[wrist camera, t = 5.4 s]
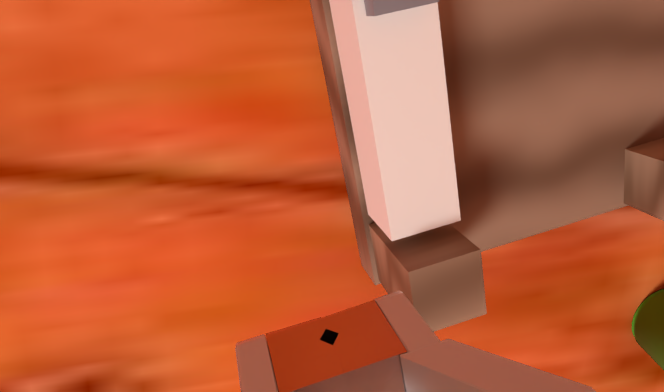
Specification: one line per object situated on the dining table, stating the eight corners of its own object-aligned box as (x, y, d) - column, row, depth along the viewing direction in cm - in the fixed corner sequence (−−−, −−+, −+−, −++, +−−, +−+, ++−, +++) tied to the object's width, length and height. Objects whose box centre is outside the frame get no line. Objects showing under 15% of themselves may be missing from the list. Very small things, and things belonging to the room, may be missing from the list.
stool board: (642, 178, 34) (764, 223, 27) (361, 265, 31) (414, 342, 24) (658, -193, 26) (836, -271, 19) (284, -130, 23) (326, -196, 16)
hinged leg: (310, -103, 21) (339, -131, 17) (388, -117, 22) (435, -147, 18) (368, 214, 27) (400, 251, 23) (429, 196, 27) (472, 229, 23)
